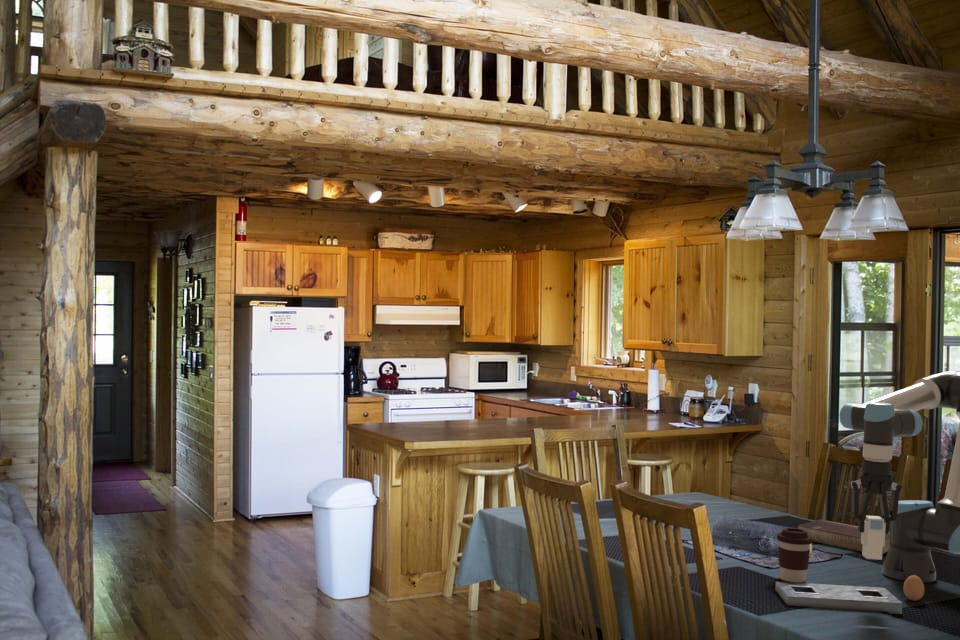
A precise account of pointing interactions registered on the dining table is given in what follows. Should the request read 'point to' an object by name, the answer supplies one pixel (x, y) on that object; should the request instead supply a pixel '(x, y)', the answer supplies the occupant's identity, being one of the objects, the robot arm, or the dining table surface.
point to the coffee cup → (794, 554)
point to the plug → (874, 538)
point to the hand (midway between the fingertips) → (872, 544)
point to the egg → (913, 588)
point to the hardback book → (838, 534)
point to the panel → (838, 596)
